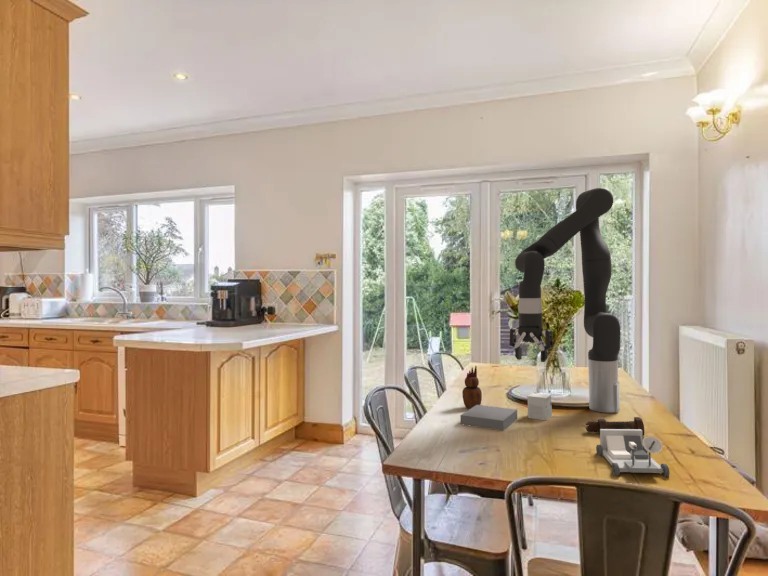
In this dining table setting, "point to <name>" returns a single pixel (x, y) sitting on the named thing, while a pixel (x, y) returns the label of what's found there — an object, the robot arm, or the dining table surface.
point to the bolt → (615, 425)
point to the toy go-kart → (630, 451)
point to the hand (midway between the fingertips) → (530, 360)
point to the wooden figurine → (472, 390)
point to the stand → (489, 417)
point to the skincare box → (539, 406)
